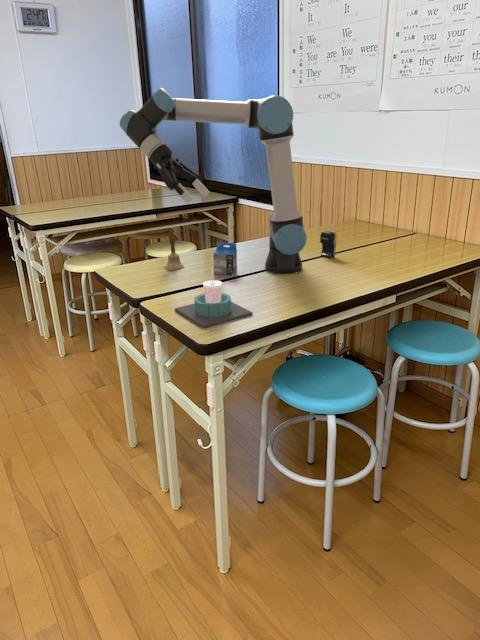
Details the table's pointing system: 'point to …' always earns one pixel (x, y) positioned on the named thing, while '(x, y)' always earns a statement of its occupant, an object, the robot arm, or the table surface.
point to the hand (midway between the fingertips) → (199, 197)
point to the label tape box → (225, 259)
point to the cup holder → (212, 311)
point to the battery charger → (328, 243)
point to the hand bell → (173, 255)
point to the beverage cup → (212, 290)
